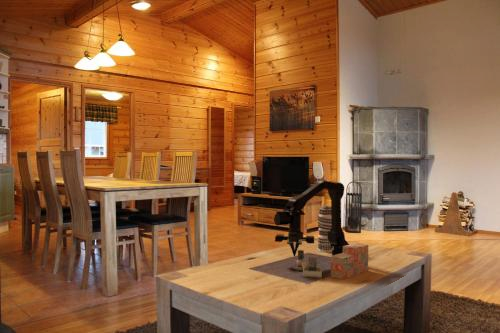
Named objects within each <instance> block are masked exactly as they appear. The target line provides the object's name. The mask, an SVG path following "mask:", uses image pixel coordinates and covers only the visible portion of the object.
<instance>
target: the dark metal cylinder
mask: <svg viewBox="0 0 500 333" xmlns="http://www.w3.org/2000/svg"><path fill="white" fill-rule="evenodd" d="M317 259H318V258H317V257H315V256H309V257H308V260H307V261H308V263H307V264H308V266H307V267H308V271H316V269H317V267H318V266H317V263H318V262H317Z"/></svg>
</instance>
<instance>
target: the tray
mask: <svg viewBox="0 0 500 333" xmlns="http://www.w3.org/2000/svg"><path fill="white" fill-rule="evenodd" d="M322 269H323V268H322V266H321V267H320V266H317V269H316V271H308V266H307V265H306V266H304V267H303V271H302V277H303V278H320V279H321V278H322V277H323V275H322V273H323V270H322Z"/></svg>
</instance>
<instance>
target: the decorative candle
mask: <svg viewBox="0 0 500 333" xmlns="http://www.w3.org/2000/svg"><path fill="white" fill-rule="evenodd" d="M318 210H319V211H318V212H319V213H318V215H317V220H318V222H317V227H318V237H317V239H318V241H317V242H318V243H317V251H319V252H321V253H332V250H333V246H331V244H330V242H329V240H328V239H327V237H328V233H327V232H328V231H330V230H331V227H332V221H331V205H321V206H320V208H318Z"/></svg>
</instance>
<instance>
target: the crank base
mask: <svg viewBox="0 0 500 333" xmlns="http://www.w3.org/2000/svg"><path fill="white" fill-rule="evenodd" d="M304 266H307V262H306V261H303V262H302V266H296V264H294V265H293V267H292V268H293V271H295V272H303V267H304Z"/></svg>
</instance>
